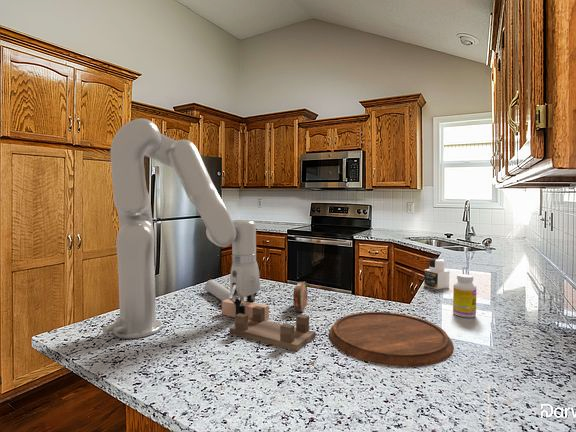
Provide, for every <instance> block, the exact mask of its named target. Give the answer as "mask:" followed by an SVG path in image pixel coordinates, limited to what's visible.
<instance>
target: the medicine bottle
mask: <svg viewBox="0 0 576 432" xmlns="http://www.w3.org/2000/svg"><path fill="white" fill-rule="evenodd" d="M428 261H429V262H428V263H429V265H428V266H429V267H428V268H427V269H424V271H423V273H424V279H423V280H424V281H423V283H424V287H428V288H431V289H435V290H442V289H448V288H450V270H446V269H445V268H446V267H445V265H446V263H445V262H446V261H445V259H443V258H438V257H436V258H435V257H433V258H430V259H429V260H428Z"/></svg>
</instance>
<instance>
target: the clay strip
mask: <svg viewBox="0 0 576 432" xmlns="http://www.w3.org/2000/svg"><path fill="white" fill-rule="evenodd" d="M243 306H245V315H248V319H249V318H253V307H255V306H260V307H265V321H269V320H270V306H269V305H266V304H262V303H257V302H254V303H252V302H247V300H244V302H243ZM221 315H224V316H228V317H233V318H235V315H236V305H234V303H233V302H232V301H231V300H229V299H226V300H224V301H221Z"/></svg>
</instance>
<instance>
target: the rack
mask: <svg viewBox="0 0 576 432" xmlns="http://www.w3.org/2000/svg"><path fill="white" fill-rule="evenodd" d="M229 334H231V335H234V336H239V337H242V338H244V339H245V338H246V339H249V340H254V341H257V342H261V343H265V344H269V345H272V346H276V347H280V348H284V349H287V350H290V351H291V350H292V351H294V352H298V351H299V350H301V349H302V348H304V347H305V346H306V345H307V344H309V343H310V342H311V341H313V340H314V339H315V338H316V337H317V336H316V331H314V330H310V315H304V314H301V313H300V314H298V315H296V316H295V325H294V324H290V323H286V322H285V323H284V322H283V323H278V322H273V321H269V320H267V321H265V307H260V306H255V307H253V318H249V319H248V315H245V314H241V313H239V314H237V315H235V317H234V325H233V326H231V327H229Z"/></svg>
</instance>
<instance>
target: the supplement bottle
mask: <svg viewBox="0 0 576 432" xmlns="http://www.w3.org/2000/svg"><path fill="white" fill-rule="evenodd" d="M456 279H457V281H456V282H455V283H453V287H452V288H453V291H452V292H453V293H452V294H453V295H452V296H453V297H452V300H453V301H452V312H453V314H454V315H455V316H457V317H460V318H466V319H467V318H469V319H470V318H474V317H476V315H477V286H476V284H474V283H473V281H474V275H471V274H465V273H464V274H463V273H458V274H457V276H456Z"/></svg>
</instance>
